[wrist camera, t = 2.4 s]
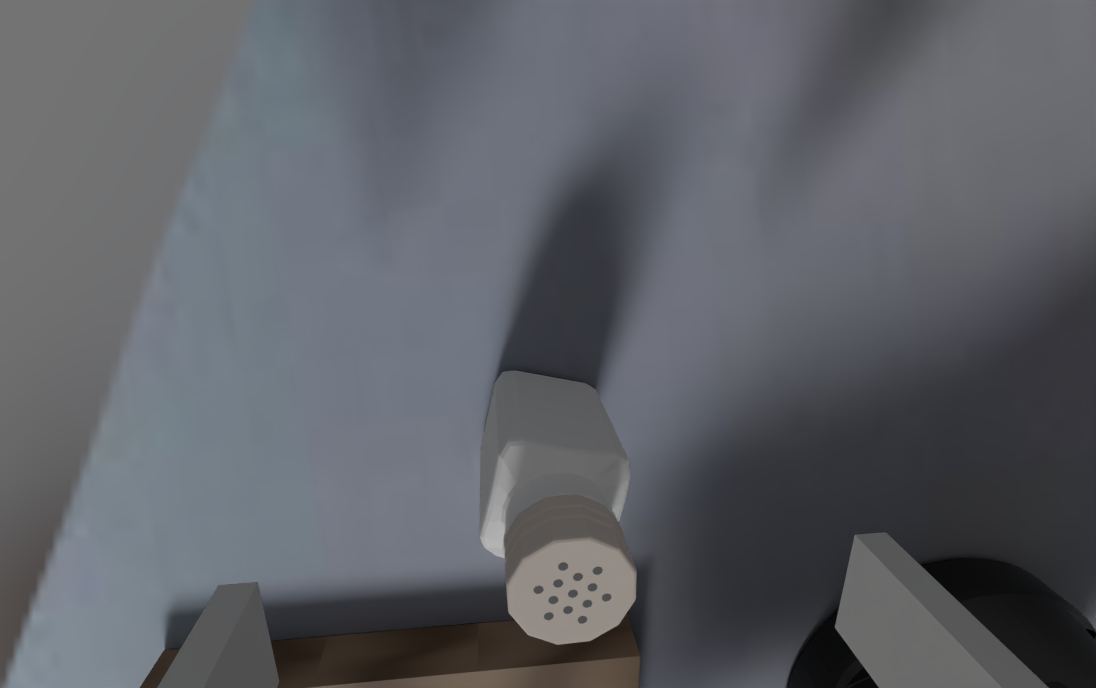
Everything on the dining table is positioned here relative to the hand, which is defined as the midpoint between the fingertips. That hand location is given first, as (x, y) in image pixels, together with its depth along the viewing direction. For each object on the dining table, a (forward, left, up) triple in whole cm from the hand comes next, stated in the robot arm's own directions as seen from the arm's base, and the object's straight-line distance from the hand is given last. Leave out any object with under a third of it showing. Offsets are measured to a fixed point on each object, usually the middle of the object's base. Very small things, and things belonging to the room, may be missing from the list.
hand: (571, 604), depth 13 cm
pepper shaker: (0, 0, -10) cm, 10 cm away
